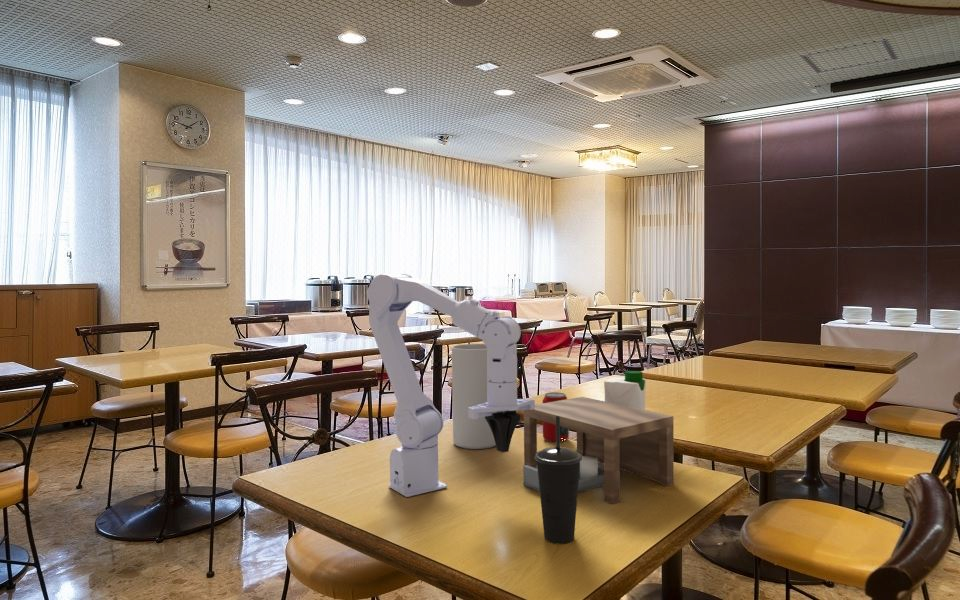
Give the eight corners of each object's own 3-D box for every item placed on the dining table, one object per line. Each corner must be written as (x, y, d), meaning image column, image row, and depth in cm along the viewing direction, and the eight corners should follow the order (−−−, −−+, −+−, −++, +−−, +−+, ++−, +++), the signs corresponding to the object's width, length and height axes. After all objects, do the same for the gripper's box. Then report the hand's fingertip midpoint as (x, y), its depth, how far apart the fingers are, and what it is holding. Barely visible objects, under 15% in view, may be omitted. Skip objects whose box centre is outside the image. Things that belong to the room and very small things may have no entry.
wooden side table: (612, 503, 115) (611, 429, 115) (524, 469, 136) (523, 406, 136) (673, 484, 125) (673, 416, 125) (582, 454, 147) (582, 396, 146)
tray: (556, 499, 118) (556, 472, 118) (523, 485, 126) (523, 460, 126) (614, 482, 127) (614, 457, 127) (580, 470, 135) (579, 446, 135)
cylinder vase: (480, 434, 167) (479, 342, 166) (511, 443, 158) (510, 346, 157) (443, 442, 159) (441, 346, 158) (473, 453, 150) (472, 350, 149)
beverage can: (570, 443, 157) (570, 396, 157) (543, 443, 157) (543, 396, 157) (567, 436, 164) (566, 391, 163) (541, 436, 164) (541, 391, 163)
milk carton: (638, 462, 140) (638, 375, 140) (600, 456, 145) (600, 372, 144) (649, 452, 148) (648, 370, 147) (612, 447, 153) (612, 367, 152)
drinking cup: (551, 524, 106) (550, 409, 105) (591, 535, 101) (590, 415, 100) (526, 539, 100) (524, 417, 99) (566, 552, 95) (565, 424, 95)
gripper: (482, 387, 110) (483, 462, 111) (544, 379, 119) (545, 449, 119) (461, 382, 116) (462, 453, 117) (521, 374, 124) (522, 441, 125)
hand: (502, 450), depth 118 cm, fingers closed
